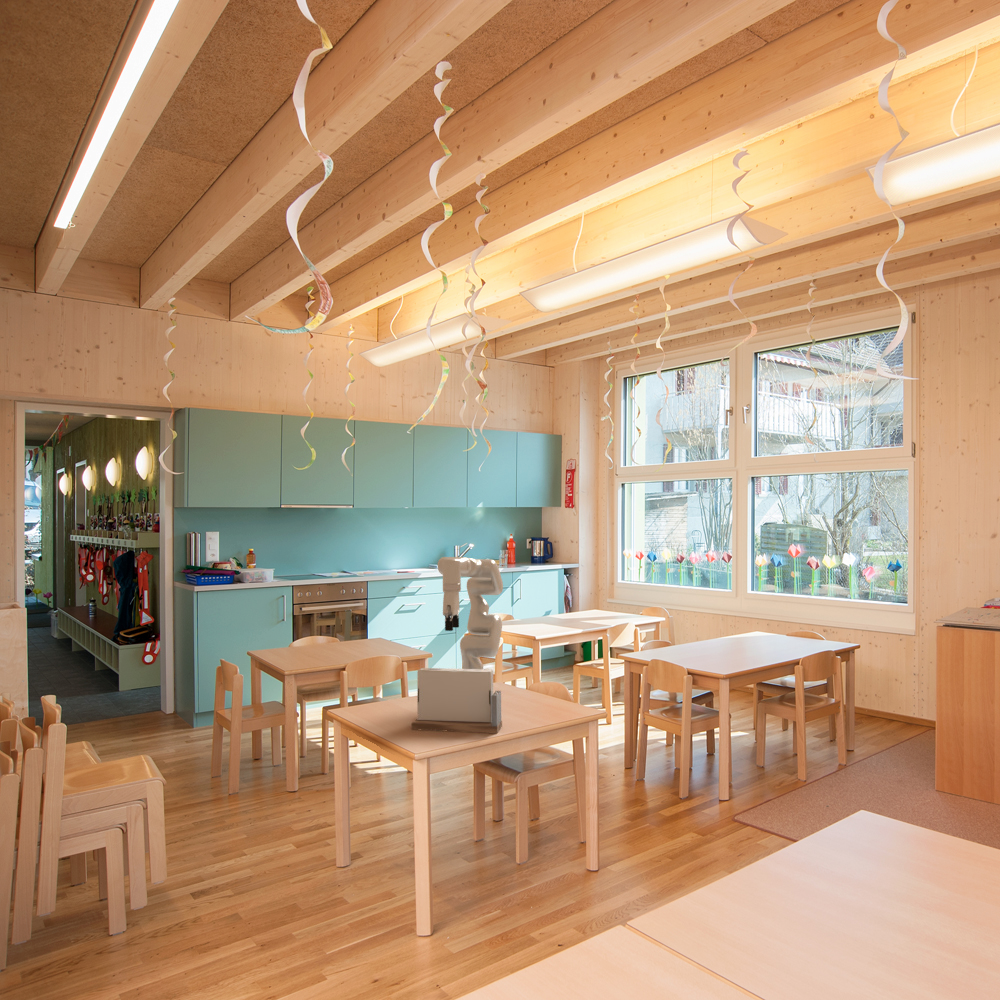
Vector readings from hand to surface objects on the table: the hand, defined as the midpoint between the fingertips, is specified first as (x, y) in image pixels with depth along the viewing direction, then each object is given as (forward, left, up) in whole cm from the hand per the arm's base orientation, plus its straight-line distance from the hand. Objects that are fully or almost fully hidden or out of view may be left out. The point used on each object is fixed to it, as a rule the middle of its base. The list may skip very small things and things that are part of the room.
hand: (452, 629), depth 321 cm
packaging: (+7, +3, -36) cm, 37 cm away
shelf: (+10, +4, -38) cm, 40 cm away
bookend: (+10, +21, -36) cm, 43 cm away
